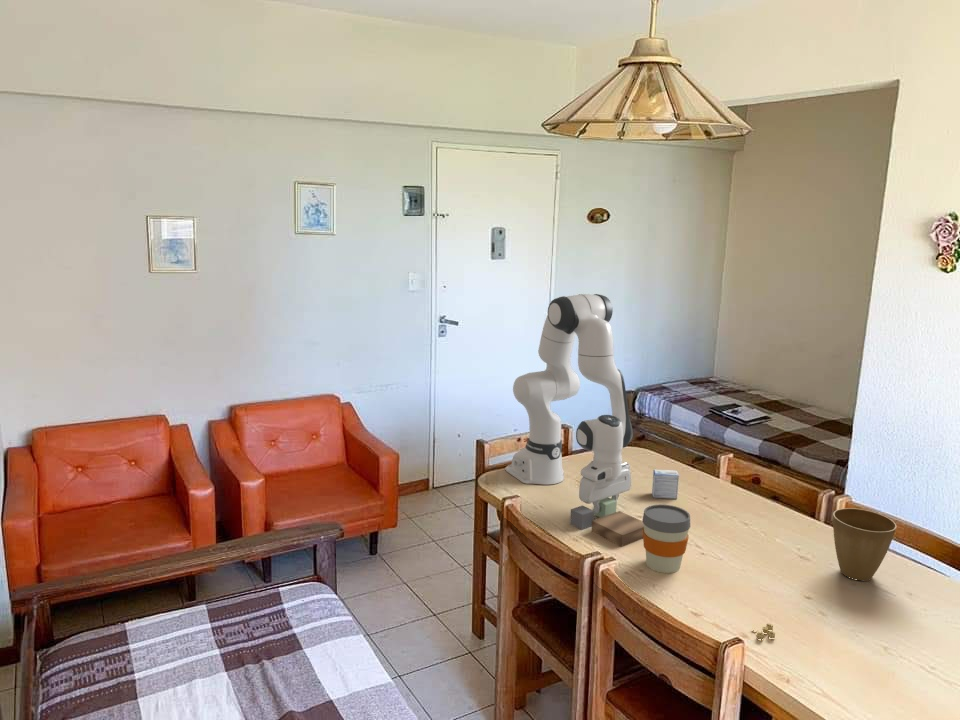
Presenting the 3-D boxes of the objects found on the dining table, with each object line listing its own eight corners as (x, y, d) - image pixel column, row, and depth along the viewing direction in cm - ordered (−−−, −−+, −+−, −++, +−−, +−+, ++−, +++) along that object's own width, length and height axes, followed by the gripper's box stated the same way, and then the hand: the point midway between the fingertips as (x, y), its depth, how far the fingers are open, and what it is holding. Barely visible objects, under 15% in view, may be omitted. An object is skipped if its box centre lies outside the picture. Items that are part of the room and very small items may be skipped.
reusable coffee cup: (688, 558, 205) (692, 508, 202) (685, 579, 193) (689, 526, 190) (642, 551, 209) (646, 501, 206) (636, 571, 197) (640, 519, 194)
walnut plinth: (591, 533, 221) (591, 520, 220) (618, 523, 228) (619, 510, 227) (621, 548, 211) (622, 535, 210) (649, 537, 218) (650, 524, 218)
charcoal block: (570, 524, 225) (570, 509, 224) (581, 520, 228) (582, 505, 227) (581, 530, 222) (582, 514, 221) (593, 526, 225) (594, 510, 224)
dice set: (770, 631, 172) (771, 623, 171) (779, 643, 167) (780, 636, 166) (749, 630, 172) (749, 623, 171) (756, 643, 167) (757, 635, 166)
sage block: (593, 514, 233) (593, 499, 232) (604, 510, 236) (605, 496, 235) (604, 519, 229) (605, 504, 228) (615, 516, 232) (616, 501, 231)
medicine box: (675, 494, 250) (677, 470, 248) (677, 499, 246) (679, 474, 244) (651, 493, 251) (653, 468, 249) (653, 498, 246) (655, 473, 245)
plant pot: (864, 594, 187) (872, 535, 184) (814, 568, 200) (820, 513, 197) (900, 581, 194) (909, 524, 191) (850, 557, 207) (857, 503, 204)
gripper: (622, 458, 238) (619, 498, 241) (576, 471, 225) (574, 513, 228) (637, 464, 233) (634, 505, 236) (591, 477, 221) (589, 520, 223)
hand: (604, 509), depth 232 cm, fingers closed on sage block, 5 cm apart
